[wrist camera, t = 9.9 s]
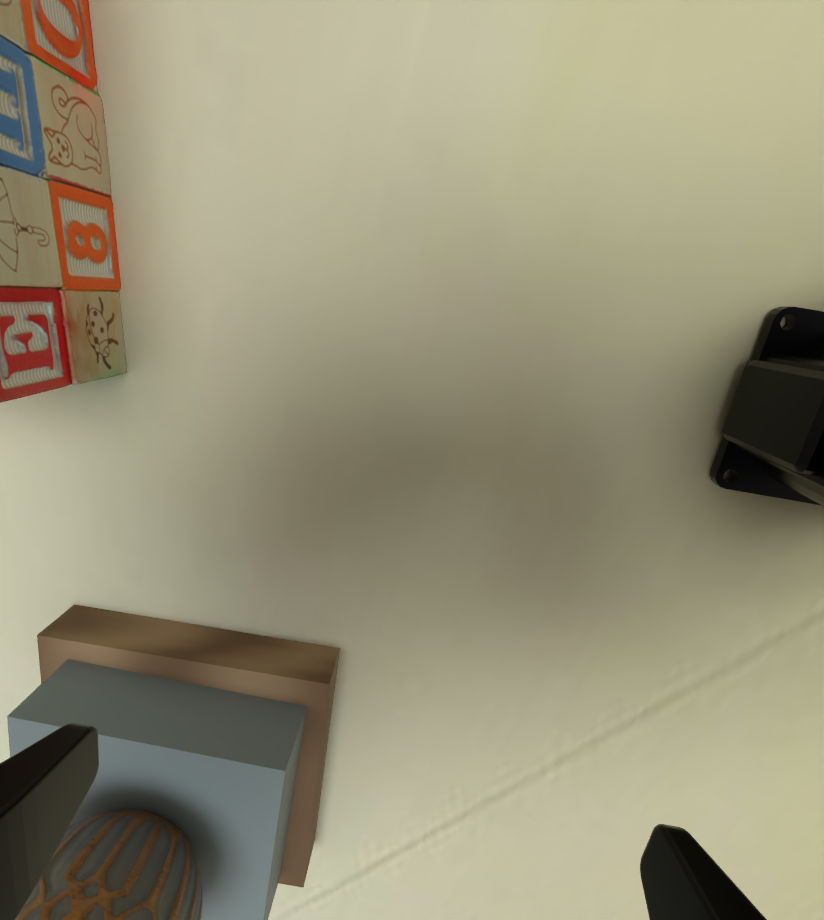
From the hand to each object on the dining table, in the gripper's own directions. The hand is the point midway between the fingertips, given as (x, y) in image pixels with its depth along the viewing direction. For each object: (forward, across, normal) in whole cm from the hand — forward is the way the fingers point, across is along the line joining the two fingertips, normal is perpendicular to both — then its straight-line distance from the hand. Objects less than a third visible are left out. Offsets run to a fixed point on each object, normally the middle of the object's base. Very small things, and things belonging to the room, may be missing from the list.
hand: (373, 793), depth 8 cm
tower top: (+10, +8, +14) cm, 19 cm away
